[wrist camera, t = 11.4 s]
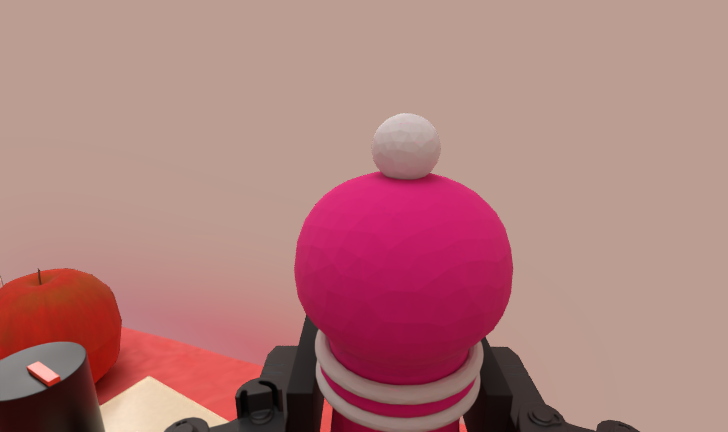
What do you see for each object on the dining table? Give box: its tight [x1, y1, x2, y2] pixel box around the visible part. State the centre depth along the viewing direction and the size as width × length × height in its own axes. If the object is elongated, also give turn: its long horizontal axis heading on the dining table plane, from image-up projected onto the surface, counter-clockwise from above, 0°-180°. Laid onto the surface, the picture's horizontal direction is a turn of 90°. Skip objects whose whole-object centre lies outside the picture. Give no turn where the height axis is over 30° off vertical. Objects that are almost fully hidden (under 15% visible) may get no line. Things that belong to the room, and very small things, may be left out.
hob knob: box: [0, 342, 105, 432], centre depth 23 cm, size 5×5×9 cm
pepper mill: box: [294, 113, 513, 432], centre depth 13 cm, size 7×7×20 cm
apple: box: [0, 268, 122, 384], centre depth 35 cm, size 10×10×12 cm
